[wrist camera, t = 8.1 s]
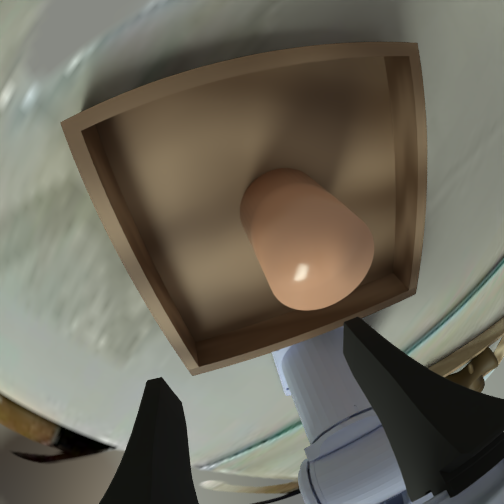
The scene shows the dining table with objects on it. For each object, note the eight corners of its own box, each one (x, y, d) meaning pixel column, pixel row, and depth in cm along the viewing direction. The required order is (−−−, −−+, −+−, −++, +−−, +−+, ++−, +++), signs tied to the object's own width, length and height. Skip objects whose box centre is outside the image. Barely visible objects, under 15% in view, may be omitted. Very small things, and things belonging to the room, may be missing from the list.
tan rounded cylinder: (324, 232, 19) (372, 289, 14) (249, 255, 19) (278, 323, 14) (316, 159, 17) (375, 199, 12) (230, 181, 16) (258, 233, 11)
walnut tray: (395, 272, 24) (415, 293, 21) (188, 345, 23) (192, 375, 20) (385, 43, 14) (417, 42, 11) (80, 115, 13) (60, 122, 10)
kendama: (448, 391, 48) (436, 371, 37) (482, 360, 46) (480, 328, 36) (463, 411, 43) (456, 399, 33) (497, 379, 42) (503, 354, 31)
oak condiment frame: (492, 357, 48) (498, 364, 46) (396, 419, 46) (402, 429, 44) (520, 303, 38) (528, 311, 36) (414, 375, 37) (422, 388, 35)
